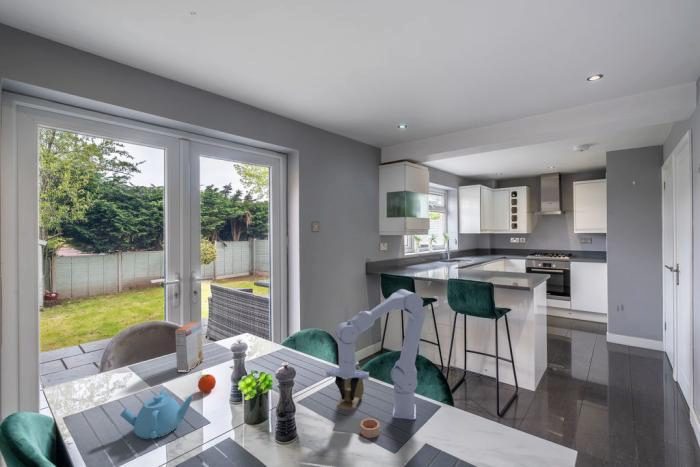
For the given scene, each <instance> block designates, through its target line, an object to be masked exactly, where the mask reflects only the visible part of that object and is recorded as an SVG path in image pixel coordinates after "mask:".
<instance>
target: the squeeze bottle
mask: <svg viewBox="0 0 700 467" xmlns="http://www.w3.org/2000/svg"><path fill="white" fill-rule="evenodd" d="M355 363H356V370H360V371H363V370H362V367H361V366H360V362H359V361H358V360H357V359H356V357H355ZM351 379H352V378H348V379H345V389H346V388H350V389H351V385H350V381H351ZM364 391H365V388H364V379H359V381H358V383H357V386H356V390H355V396H354V397H356V398H359V401H361V399H362V398H363V394H364Z"/></svg>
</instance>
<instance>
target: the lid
mask: <svg viewBox="0 0 700 467" xmlns="http://www.w3.org/2000/svg"><path fill="white" fill-rule="evenodd" d="M359 401H360V400H359V398H356V397H354V400H353V401H352V400H351V389H350V388H346V389H344V400H342V397H341V396H340V397H339V400H338V402H337V404H336V409H343V410H350V411H351V410H353V411H357V410H356V409H357V406H358V404H359Z"/></svg>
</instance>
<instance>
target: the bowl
mask: <svg viewBox="0 0 700 467" xmlns="http://www.w3.org/2000/svg"><path fill="white" fill-rule="evenodd" d="M380 424H381V423H380V422H379V421H378V420H377V419H375V418H369V417H368V418H365V419H363V420H362V421H361V425H360V431H359V432H360V434H361V435H362V436H363V437H364V438H369V439H370V438H376V437H378V436H379V435H380V431H381V429H380V426H381V425H380Z"/></svg>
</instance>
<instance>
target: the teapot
mask: <svg viewBox="0 0 700 467" xmlns="http://www.w3.org/2000/svg"><path fill="white" fill-rule="evenodd" d="M193 397H194V396H193V395H192V396H187V398H186V400H184V402H183V404H182V405H180V404H179V402H178V401H177V400H176V399H175V398H174V397H173V396H171V395H167V391H166V390H161V391H160V393H159V394H157V395H155V396H153V397H152V398H150V399H148V400H146V402H145V403H144V404H142V407H141V408H140V410H139V412H138V414H136V415H137V416H136V415H134V414H133V413H132V412H131V411H130V410H129V409H127V408H124V410H123V411H122V412H121V413H120V414H119V416H120V417H121V418H123V419H124V420H125V421H126V422H127V423H129V424H130V425H131V426H132V427H133V432H134V434H135V435H136V436H137V437H139V438H141V437H142V438H141V439H143V438H152V439H151V440H154V438H155V439H157V438H156V437H159V436H162V435H165V434H167V433H169V434H171V433H172V432H173V430H174V429H175V428H176V429H177V428H178V427H179V425H180V424H181V422H182V421H183V419H184V418H185V416H186V413H187V412H188V409H189V407H190V405H191V403H192V400H193ZM176 429H175V430H176ZM175 430H174V431H175ZM171 431H172V432H171ZM170 432H171V433H170ZM167 435H168V434H167ZM165 436H166V435H165ZM162 437H163V436H162ZM159 438H160V437H159Z"/></svg>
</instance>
